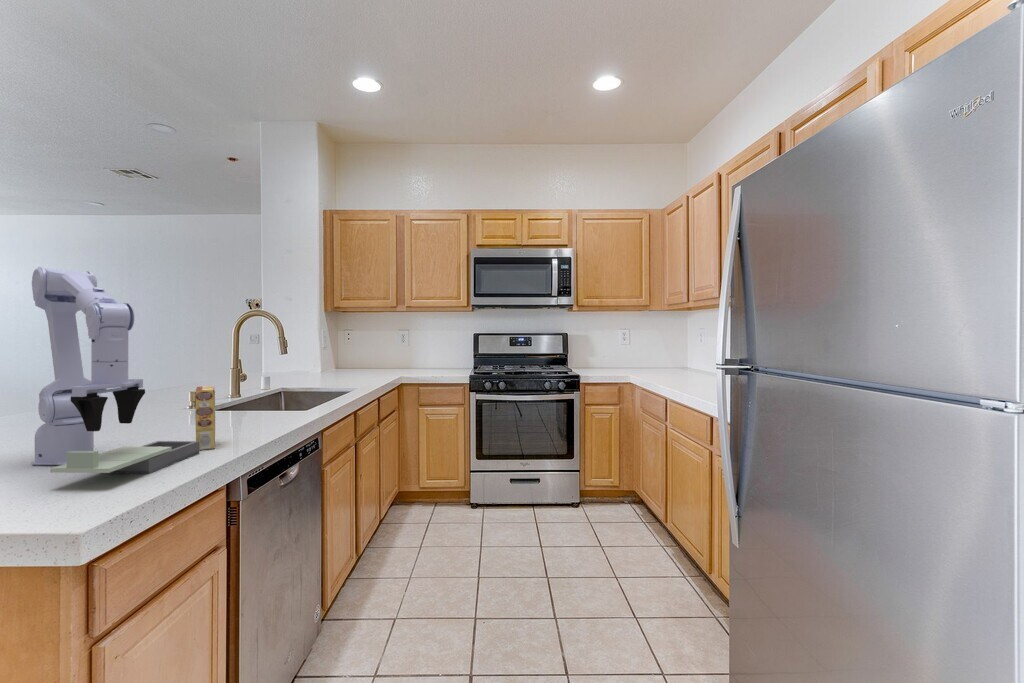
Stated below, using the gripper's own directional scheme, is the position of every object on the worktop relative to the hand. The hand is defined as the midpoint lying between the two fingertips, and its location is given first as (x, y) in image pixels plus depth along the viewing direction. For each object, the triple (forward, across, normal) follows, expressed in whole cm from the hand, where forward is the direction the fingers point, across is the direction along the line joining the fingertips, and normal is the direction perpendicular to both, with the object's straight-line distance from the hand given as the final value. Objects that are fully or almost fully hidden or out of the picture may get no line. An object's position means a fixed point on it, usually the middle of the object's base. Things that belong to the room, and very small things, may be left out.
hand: (110, 426), depth 94 cm
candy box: (+10, +24, -4) cm, 27 cm away
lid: (+7, -1, -2) cm, 7 cm away
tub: (+10, +9, -2) cm, 14 cm away
